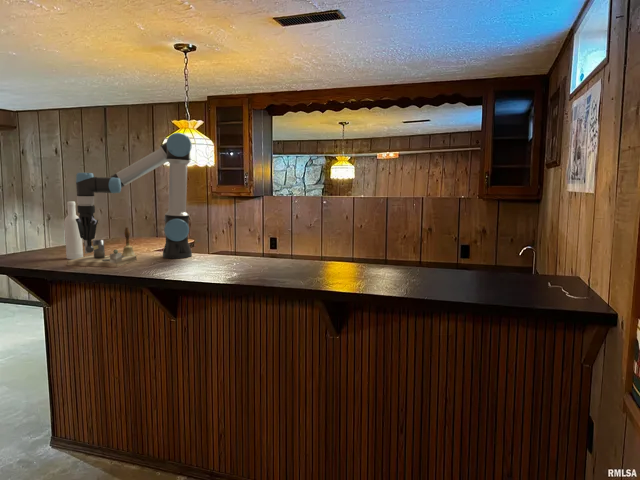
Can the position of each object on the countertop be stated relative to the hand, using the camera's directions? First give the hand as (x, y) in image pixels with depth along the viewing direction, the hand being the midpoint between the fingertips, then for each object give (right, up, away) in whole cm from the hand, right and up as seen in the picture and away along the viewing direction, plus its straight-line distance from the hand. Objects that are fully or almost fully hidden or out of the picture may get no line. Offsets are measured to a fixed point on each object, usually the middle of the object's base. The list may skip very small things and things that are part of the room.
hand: (88, 252), depth 222 cm
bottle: (-16, -3, +18) cm, 25 cm away
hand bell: (+9, -3, +24) cm, 26 cm away
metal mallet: (+2, -3, +3) cm, 5 cm away
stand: (+4, -5, +6) cm, 9 cm away
